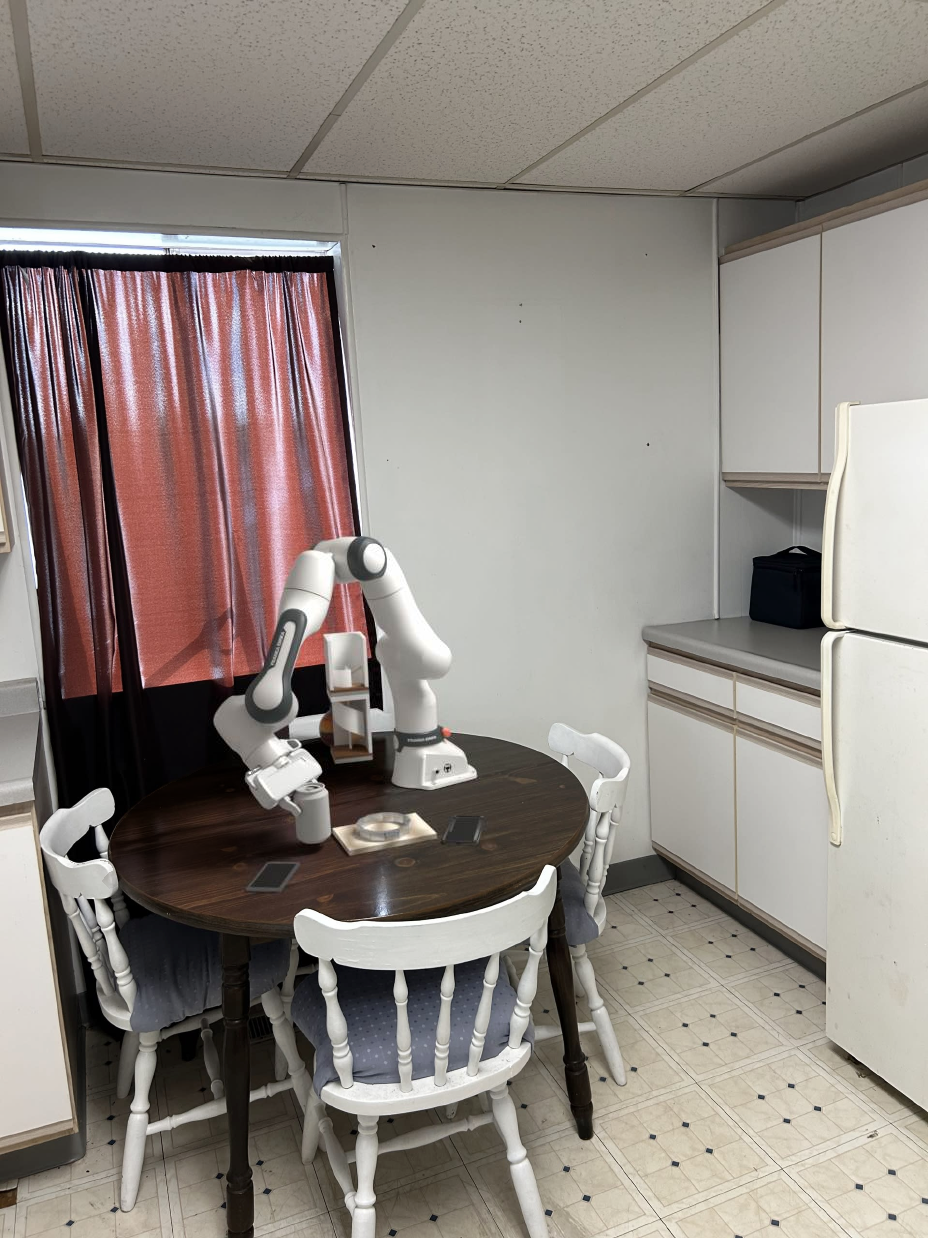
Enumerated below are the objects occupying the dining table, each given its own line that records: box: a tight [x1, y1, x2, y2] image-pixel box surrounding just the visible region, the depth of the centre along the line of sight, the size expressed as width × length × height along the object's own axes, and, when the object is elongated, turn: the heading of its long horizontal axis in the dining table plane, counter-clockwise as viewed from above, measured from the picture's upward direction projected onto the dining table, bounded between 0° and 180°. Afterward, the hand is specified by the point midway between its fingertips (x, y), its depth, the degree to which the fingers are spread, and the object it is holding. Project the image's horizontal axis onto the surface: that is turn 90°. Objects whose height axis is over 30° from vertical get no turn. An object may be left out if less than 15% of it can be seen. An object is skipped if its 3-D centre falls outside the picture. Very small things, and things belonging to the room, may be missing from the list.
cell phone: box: [245, 861, 301, 894], centre depth 194 cm, size 7×14×1 cm, turn 172°
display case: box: [323, 631, 373, 765], centre depth 269 cm, size 11×11×35 cm
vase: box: [318, 697, 334, 748], centre depth 284 cm, size 11×11×15 cm
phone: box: [442, 815, 486, 846], centre depth 214 cm, size 8×1×15 cm
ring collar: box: [355, 811, 411, 842], centre depth 213 cm, size 12×12×2 cm
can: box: [292, 781, 332, 845], centre depth 207 cm, size 8×8×12 cm
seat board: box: [332, 812, 438, 856], centre depth 213 cm, size 20×14×1 cm
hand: (310, 806), depth 207 cm, fingers closed on can, 7 cm apart
